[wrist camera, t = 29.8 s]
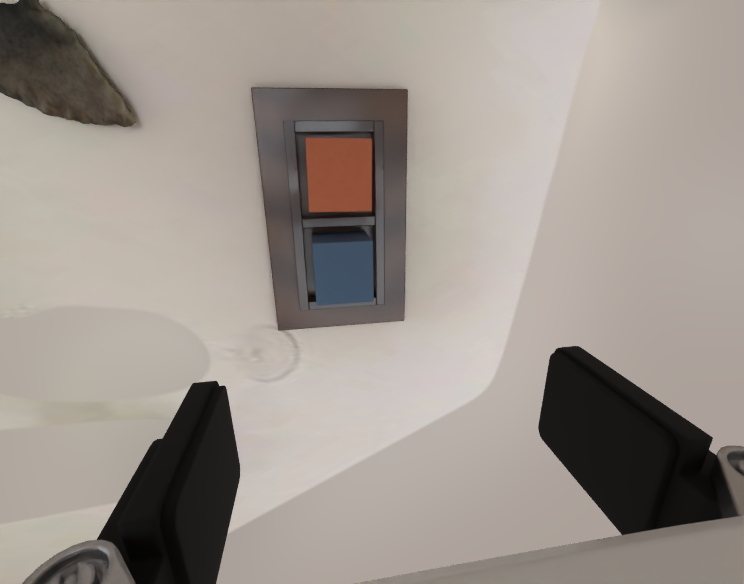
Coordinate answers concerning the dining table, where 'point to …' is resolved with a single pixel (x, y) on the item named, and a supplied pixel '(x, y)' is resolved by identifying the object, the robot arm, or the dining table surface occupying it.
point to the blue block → (343, 267)
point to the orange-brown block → (339, 174)
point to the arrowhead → (54, 68)
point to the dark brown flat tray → (296, 224)
